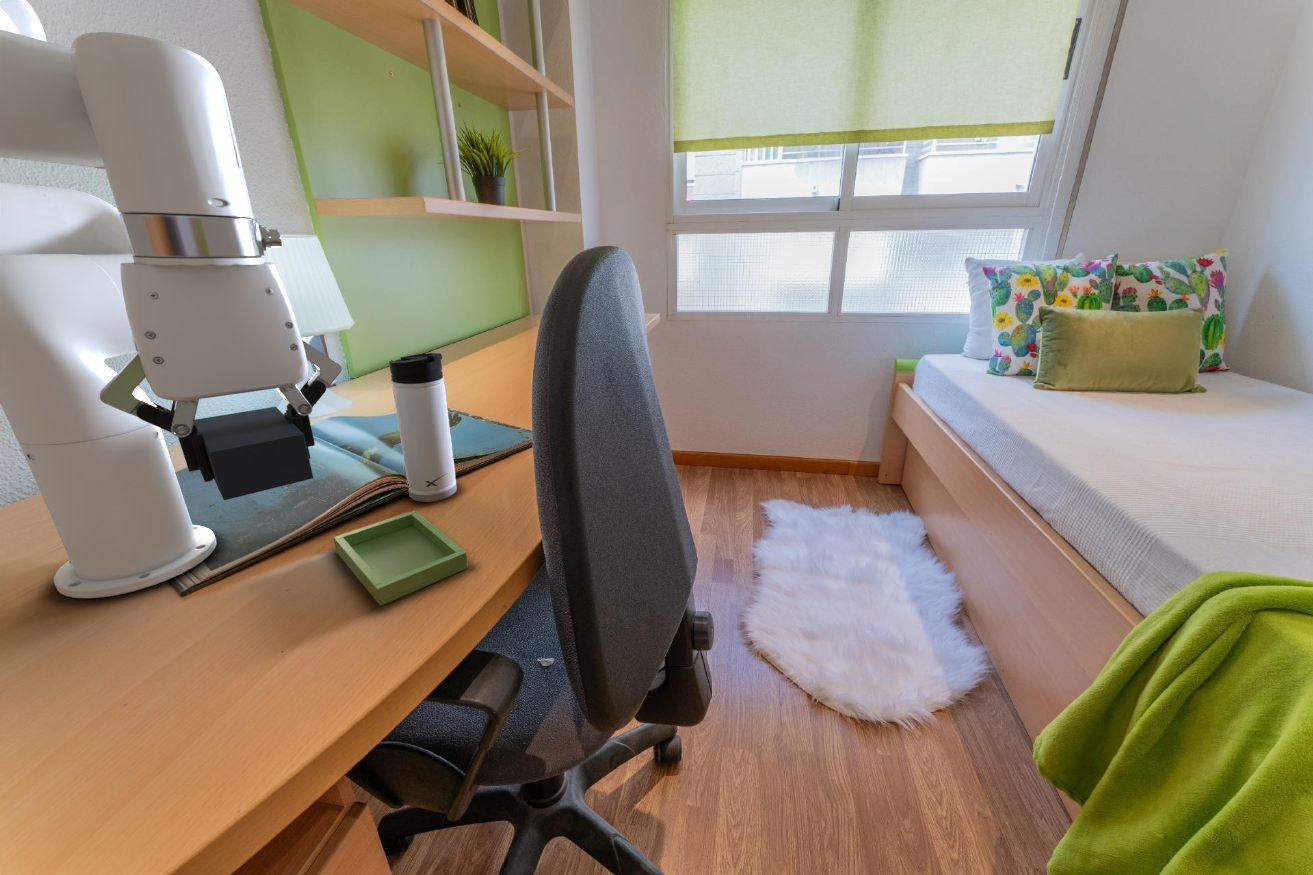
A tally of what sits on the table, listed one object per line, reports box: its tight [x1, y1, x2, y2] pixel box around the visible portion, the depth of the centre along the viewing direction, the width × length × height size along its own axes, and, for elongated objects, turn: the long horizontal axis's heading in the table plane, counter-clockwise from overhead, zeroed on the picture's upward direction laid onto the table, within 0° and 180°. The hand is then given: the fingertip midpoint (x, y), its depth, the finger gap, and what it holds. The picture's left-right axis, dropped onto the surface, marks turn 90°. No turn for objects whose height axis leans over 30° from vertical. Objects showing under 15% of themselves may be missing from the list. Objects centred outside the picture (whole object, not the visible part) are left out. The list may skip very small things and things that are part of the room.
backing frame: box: [332, 510, 469, 607], centre depth 58 cm, size 13×9×2 cm
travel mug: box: [388, 352, 458, 503], centre depth 70 cm, size 6×7×20 cm
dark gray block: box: [194, 406, 314, 501], centre depth 44 cm, size 10×6×4 cm, turn 45°
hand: (256, 463), depth 45 cm, fingers closed on dark gray block, 6 cm apart
